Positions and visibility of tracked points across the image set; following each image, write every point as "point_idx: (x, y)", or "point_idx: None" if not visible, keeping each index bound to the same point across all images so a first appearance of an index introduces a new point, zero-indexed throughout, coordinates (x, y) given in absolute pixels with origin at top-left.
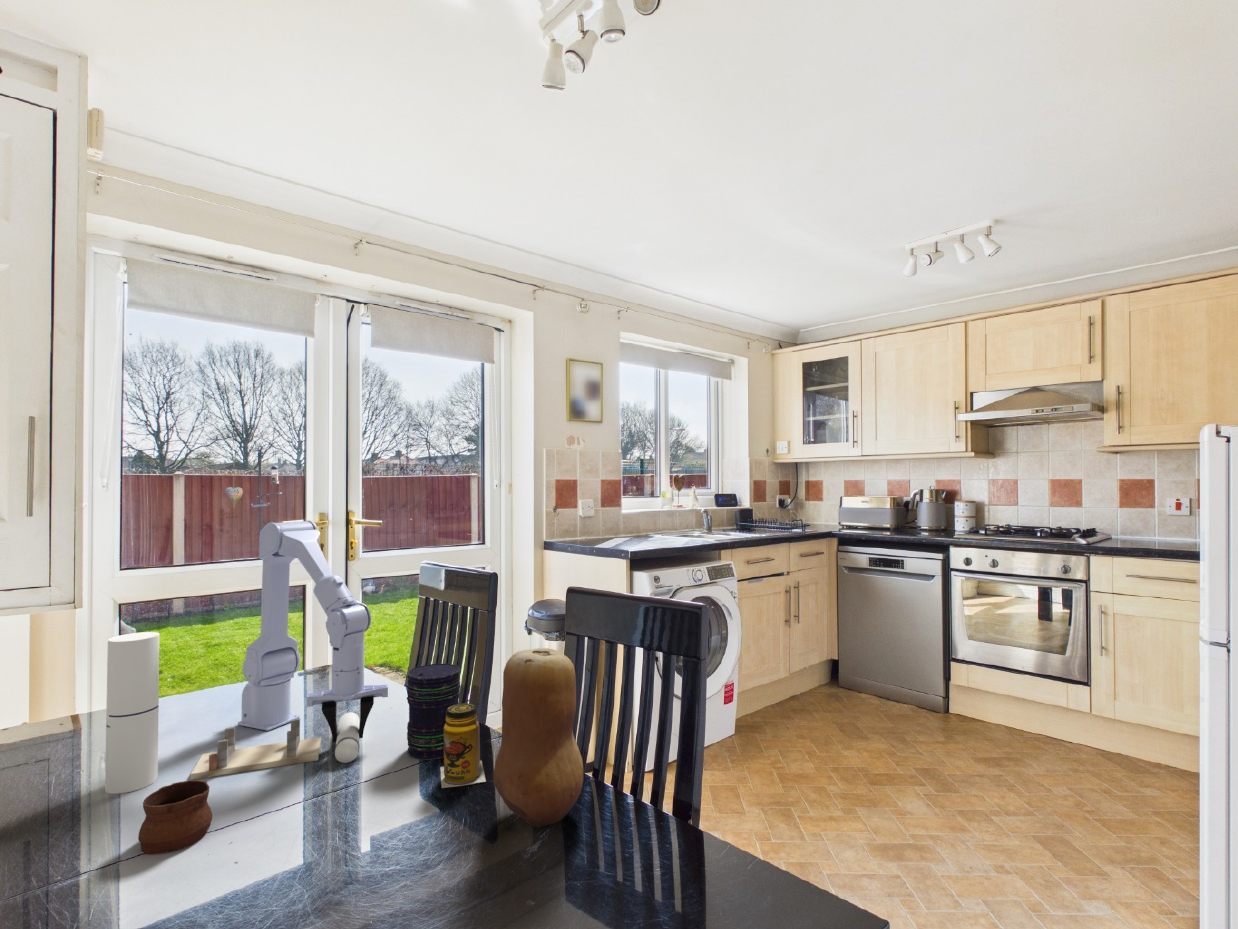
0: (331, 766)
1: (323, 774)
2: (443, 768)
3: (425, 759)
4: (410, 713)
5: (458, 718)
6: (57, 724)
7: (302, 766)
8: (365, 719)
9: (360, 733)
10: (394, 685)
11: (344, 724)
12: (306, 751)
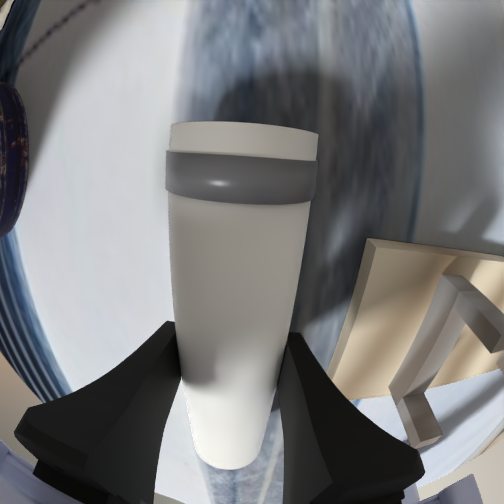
0: (320, 131)
1: (355, 64)
2: (1, 21)
3: (5, 82)
4: None
5: None
6: (494, 442)
7: (422, 206)
8: (111, 373)
9: (167, 332)
10: (162, 493)
11: (244, 413)
12: (402, 305)
